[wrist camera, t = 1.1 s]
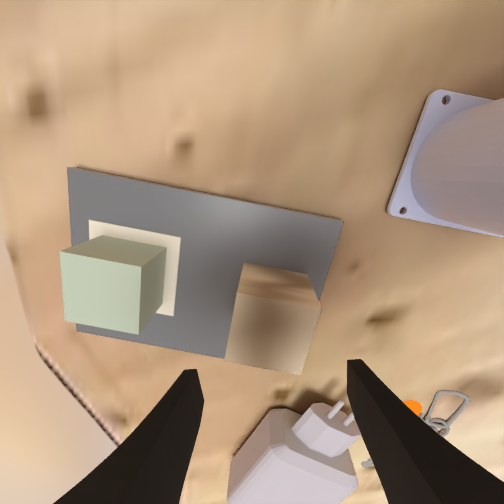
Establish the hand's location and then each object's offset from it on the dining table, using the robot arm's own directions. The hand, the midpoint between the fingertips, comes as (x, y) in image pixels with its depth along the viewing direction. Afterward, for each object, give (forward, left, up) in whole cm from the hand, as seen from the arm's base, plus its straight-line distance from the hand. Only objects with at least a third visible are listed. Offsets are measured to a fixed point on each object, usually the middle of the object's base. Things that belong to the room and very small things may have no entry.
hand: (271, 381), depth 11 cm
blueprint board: (+6, 0, -9) cm, 11 cm away
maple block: (0, 0, -8) cm, 8 cm away
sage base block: (+11, 0, -8) cm, 14 cm away
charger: (-7, +15, -10) cm, 20 cm away
